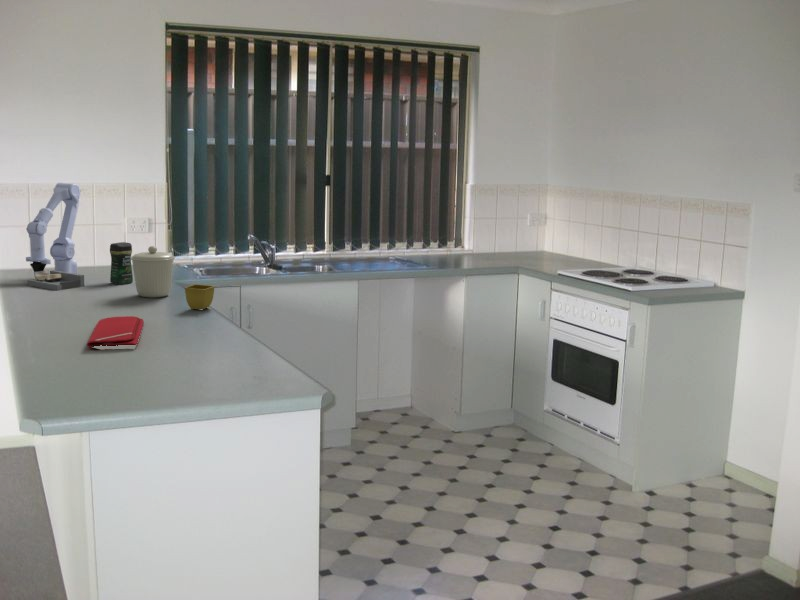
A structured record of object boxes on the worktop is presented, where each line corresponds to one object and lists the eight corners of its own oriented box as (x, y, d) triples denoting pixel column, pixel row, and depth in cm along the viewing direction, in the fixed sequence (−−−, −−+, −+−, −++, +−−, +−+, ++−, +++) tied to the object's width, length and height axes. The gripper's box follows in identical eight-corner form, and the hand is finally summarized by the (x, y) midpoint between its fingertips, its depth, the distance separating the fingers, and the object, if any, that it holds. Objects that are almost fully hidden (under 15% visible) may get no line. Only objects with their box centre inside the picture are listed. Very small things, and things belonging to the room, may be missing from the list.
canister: (122, 296, 371) (120, 246, 367) (152, 290, 387) (151, 242, 383) (155, 301, 363) (153, 250, 359) (185, 294, 378) (183, 245, 375)
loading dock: (54, 282, 404) (53, 270, 403) (84, 287, 393) (84, 274, 392) (27, 286, 392) (26, 274, 391) (57, 291, 381) (57, 278, 380)
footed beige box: (49, 281, 400) (48, 270, 399) (62, 280, 395) (60, 269, 395) (35, 283, 394) (33, 272, 393) (47, 282, 389) (46, 271, 388)
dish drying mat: (144, 323, 323) (144, 313, 323) (137, 350, 284) (137, 339, 283) (99, 324, 320) (98, 314, 319) (85, 352, 281) (85, 340, 280)
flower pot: (215, 307, 352) (215, 285, 351) (204, 312, 344) (204, 289, 342) (195, 306, 355) (195, 284, 353) (184, 310, 346) (184, 287, 345)
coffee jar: (119, 285, 397) (117, 244, 393) (107, 283, 401) (106, 242, 398) (136, 282, 405) (135, 242, 401) (124, 280, 409) (123, 240, 406)
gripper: (19, 248, 396) (20, 278, 398) (40, 250, 388) (41, 281, 391) (33, 246, 401) (34, 276, 404) (54, 249, 394) (55, 279, 397)
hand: (39, 278), depth 398 cm, fingers closed
